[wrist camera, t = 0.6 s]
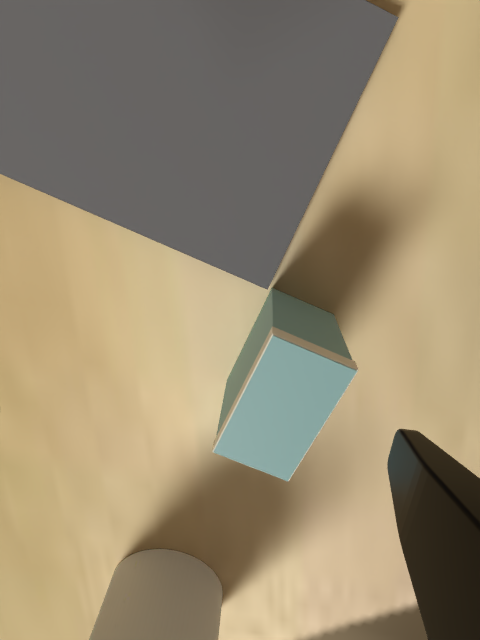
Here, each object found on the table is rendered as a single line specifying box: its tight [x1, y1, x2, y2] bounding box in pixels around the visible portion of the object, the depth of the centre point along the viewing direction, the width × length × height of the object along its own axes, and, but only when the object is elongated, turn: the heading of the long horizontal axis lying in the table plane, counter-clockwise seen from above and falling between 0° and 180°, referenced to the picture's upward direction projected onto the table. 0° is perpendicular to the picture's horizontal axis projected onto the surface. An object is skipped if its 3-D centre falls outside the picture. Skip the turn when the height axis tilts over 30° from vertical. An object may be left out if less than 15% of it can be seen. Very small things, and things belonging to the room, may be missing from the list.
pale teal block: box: [212, 288, 358, 481], centre depth 19 cm, size 4×6×6 cm, turn 157°
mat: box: [0, 0, 398, 290], centre depth 17 cm, size 16×12×1 cm
